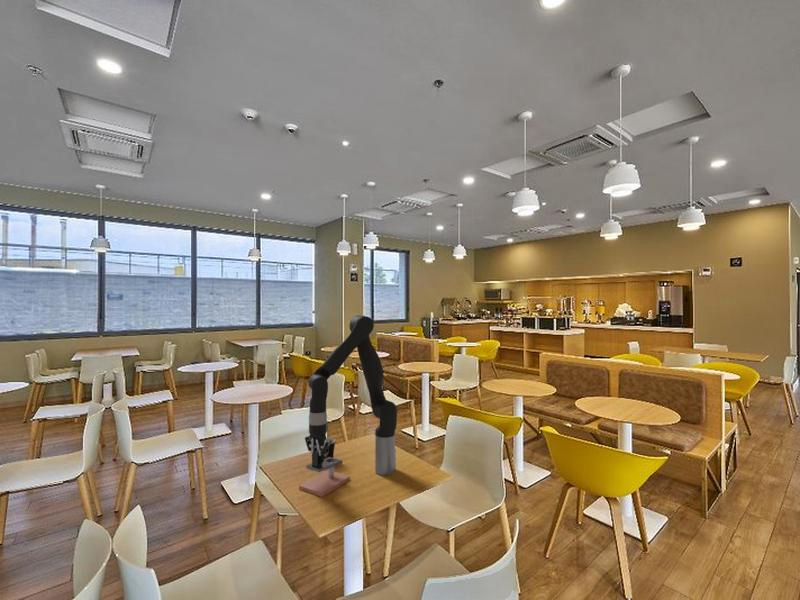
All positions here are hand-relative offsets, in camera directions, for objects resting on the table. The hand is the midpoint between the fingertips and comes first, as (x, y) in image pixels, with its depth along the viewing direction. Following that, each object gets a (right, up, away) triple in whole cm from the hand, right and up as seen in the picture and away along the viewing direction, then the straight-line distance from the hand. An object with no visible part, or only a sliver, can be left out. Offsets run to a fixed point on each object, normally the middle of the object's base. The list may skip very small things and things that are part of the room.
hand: (317, 462), depth 158 cm
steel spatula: (+2, -3, +3) cm, 5 cm away
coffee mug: (-3, -12, +28) cm, 31 cm away
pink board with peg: (+2, -11, +4) cm, 12 cm away
